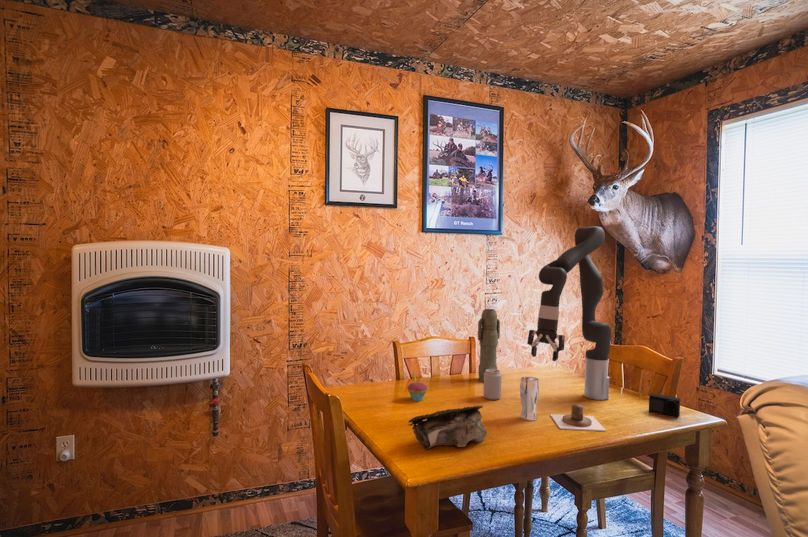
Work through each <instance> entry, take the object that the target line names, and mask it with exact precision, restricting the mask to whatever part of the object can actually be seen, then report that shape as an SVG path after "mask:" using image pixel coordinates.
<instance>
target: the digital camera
mask: <svg viewBox="0 0 808 537" xmlns="http://www.w3.org/2000/svg"><path fill="white" fill-rule="evenodd" d="M648 397H649V398H648V413H650V414H655V415H661V416H664V417H669V418H675V419H679V418H680V415H681V413H680V412H681V397H675V396H669V395H665V394H657V393H653V392H651V393H650V394H649V396H648Z"/></svg>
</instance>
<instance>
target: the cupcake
mask: <svg viewBox="0 0 808 537" xmlns="http://www.w3.org/2000/svg"><path fill="white" fill-rule="evenodd" d="M412 372H413V374H412V375H413V382H411V383H409V385H407V387H406V388H407V391H408V393H409V394H410V398H411V401H414V402H421V401H423V400H424V397H425V395H426V393H427V392H428V386H427V385H426V383H424V382H420V381H419V382H417V379H416V373H415V371H414V370H413V371H412Z"/></svg>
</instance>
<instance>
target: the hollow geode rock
mask: <svg viewBox="0 0 808 537" xmlns="http://www.w3.org/2000/svg"><path fill="white" fill-rule="evenodd" d="M482 408H484V405H476V406H475V405H474V406H466V407H465V406H464V407H462V408H461V407H460V408H453V409H452V408H451V409H449V408H447V409H445V410H439V411H438V410H437V411H435V412H432V413H429V414H428V413H426V414H424V415H416V416H415V417H412V418H411V419H409V420H408V423H409V424H407V425H408V426H410V427H412V428H411V429H412V431H413V434H414V436H415V439H416V440H417V442H418V443H419V444H420V445H421V446H422V448H424V450H429V449H431V448H432V447H434V446H435V447H436V446H445V447H448V446H453V445H454V446H456V447H459V448H460V447H466V446H467V443H469V442H470V441H472V442H475V443H482V442H484V441H485V439H486V436H487V434H488V431H487V429H486V427H485V425H484V424H483V421H482V419H483V415H482V413H481V412H480V411H479V410H480V409H482Z"/></svg>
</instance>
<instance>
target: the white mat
mask: <svg viewBox="0 0 808 537" xmlns="http://www.w3.org/2000/svg"><path fill="white" fill-rule="evenodd" d="M564 415H565V414H555V413H550V417H551V419H552V420H553V422H554V423H555V425H556V426H557V427H558V429H559V430H570V431H586V432H591V431H592V432H607V429H606V428H605V427H604V426H603V425H602V424H601V423H600V422H599V421H598V420H597V419H596V417H595V416H593V415H583V416H584V417H587V418H589V419H591V421H592V424H591V426H588V427H577V426H572V425H569V424H567V423H565V422H564V421H563V416H564Z"/></svg>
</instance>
